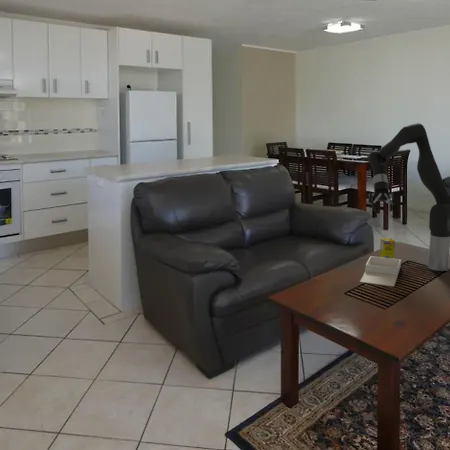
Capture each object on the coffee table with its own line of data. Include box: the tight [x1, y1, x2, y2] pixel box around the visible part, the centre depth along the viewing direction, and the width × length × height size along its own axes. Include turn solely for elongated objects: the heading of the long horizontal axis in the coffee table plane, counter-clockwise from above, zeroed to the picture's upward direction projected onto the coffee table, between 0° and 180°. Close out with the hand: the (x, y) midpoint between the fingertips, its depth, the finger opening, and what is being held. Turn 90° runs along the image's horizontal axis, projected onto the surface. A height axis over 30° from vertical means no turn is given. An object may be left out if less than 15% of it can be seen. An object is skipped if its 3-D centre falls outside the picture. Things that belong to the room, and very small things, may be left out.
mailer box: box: [359, 255, 402, 288], centre depth 228 cm, size 15×30×4 cm, turn 155°
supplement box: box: [379, 237, 396, 259], centre depth 250 cm, size 6×6×11 cm
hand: (383, 210), depth 254 cm, fingers open, 8 cm apart
